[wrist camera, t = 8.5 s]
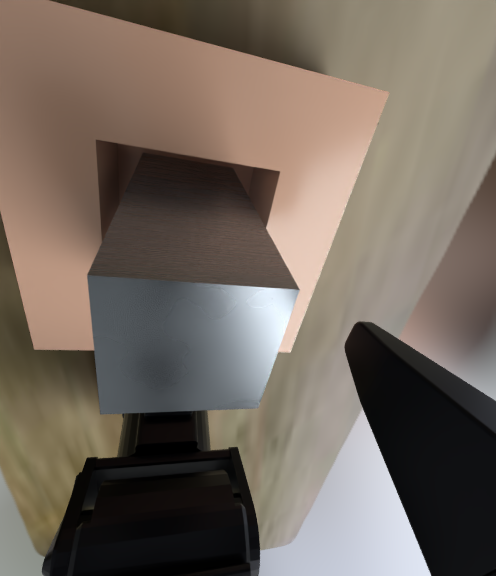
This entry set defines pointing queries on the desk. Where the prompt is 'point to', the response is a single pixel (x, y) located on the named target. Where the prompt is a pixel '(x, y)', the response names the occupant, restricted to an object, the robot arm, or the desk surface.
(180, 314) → the grey rectangular block
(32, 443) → the desk surface
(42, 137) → the well
